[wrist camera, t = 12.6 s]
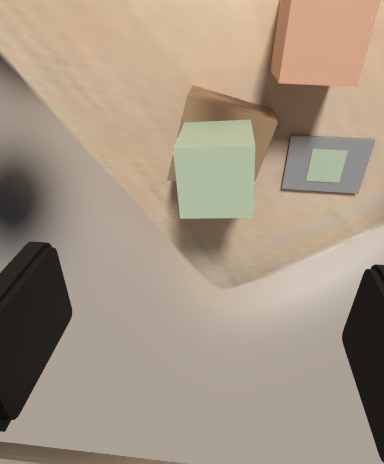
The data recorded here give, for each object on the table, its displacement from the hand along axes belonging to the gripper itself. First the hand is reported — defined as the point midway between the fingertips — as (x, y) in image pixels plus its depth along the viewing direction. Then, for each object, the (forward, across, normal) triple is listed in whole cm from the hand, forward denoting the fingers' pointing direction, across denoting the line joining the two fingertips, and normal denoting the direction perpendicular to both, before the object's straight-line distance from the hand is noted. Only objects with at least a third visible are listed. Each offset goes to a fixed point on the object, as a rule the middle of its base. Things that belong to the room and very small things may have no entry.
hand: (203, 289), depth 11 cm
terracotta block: (+23, -6, -6) cm, 24 cm away
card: (+22, -9, +4) cm, 25 cm away
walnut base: (+23, 0, +2) cm, 23 cm away
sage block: (+18, 0, +2) cm, 18 cm away
